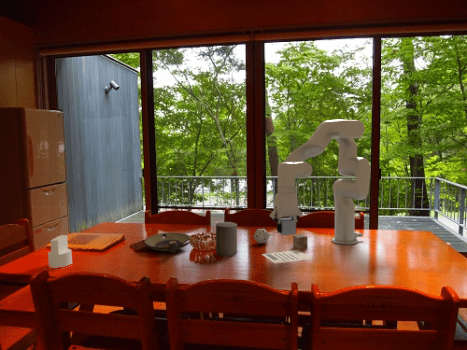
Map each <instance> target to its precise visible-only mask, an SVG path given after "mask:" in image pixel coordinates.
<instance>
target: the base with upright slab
mask: <svg viewBox="0 0 467 350" xmlns="http://www.w3.org/2000/svg"><path fill="white" fill-rule="evenodd" d="M68 243H69V242H68V235H66V234H61V235H59V236H56V237H54V238H53V239H51V240H50V251H48V253H47V256H48V258H47V259H48V268H49V267H52V268H58V267H65V266H68V265H70V264H72V265H73V257H72V256H73V255H72V254H73V253H72V249H70V248H69V246H68Z"/></svg>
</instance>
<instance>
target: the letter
mask: <svg viewBox="0 0 467 350" xmlns="http://www.w3.org/2000/svg"><path fill="white" fill-rule="evenodd" d="M261 255H262V256H263V257H265V258H266V259H267V260H269V261H270V262H272V263H274V265H275V264H276V265H277V264H282V263H283V264H284V263H289V262H297V261H298V262H299V261H304V260H312V259H313V257H311V256H309V255H308V254H305V253H304V252H302V251H301V250H298V249H294V250H289V251H287V250H286V251H280V252H278V251H277V252H269V253H262V254H261Z"/></svg>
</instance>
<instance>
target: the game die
mask: <svg viewBox="0 0 467 350" xmlns="http://www.w3.org/2000/svg"><path fill="white" fill-rule="evenodd" d="M270 236H272V234H271V233H269V232H268V231H267V230H266V227H264V228H258V229H257V228H256V227H255V232H254V235H253V236H252V237H251V238H252V239H254V240H255V242H256V243H257V246H259V244H267V245H268V240H269V238H270Z"/></svg>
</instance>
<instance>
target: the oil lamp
mask: <svg viewBox="0 0 467 350" xmlns="http://www.w3.org/2000/svg"><path fill="white" fill-rule="evenodd" d="M189 237H191V235H189V234H186V233H182V232H181V233H180V232H163V233H162V232H160V233H157V234H153V235H151V236H149V237H147V238H145V239H144V241H143V243H144V246H145V247H147V248H149V249H152V250H155V251H159V252H170V253H175V252H176V250H180V249H182V248H185V247H186V246H188V245H189V244H191V241H190V240H189ZM164 245H165V246H166V245H169V247H162V246H164Z"/></svg>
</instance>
